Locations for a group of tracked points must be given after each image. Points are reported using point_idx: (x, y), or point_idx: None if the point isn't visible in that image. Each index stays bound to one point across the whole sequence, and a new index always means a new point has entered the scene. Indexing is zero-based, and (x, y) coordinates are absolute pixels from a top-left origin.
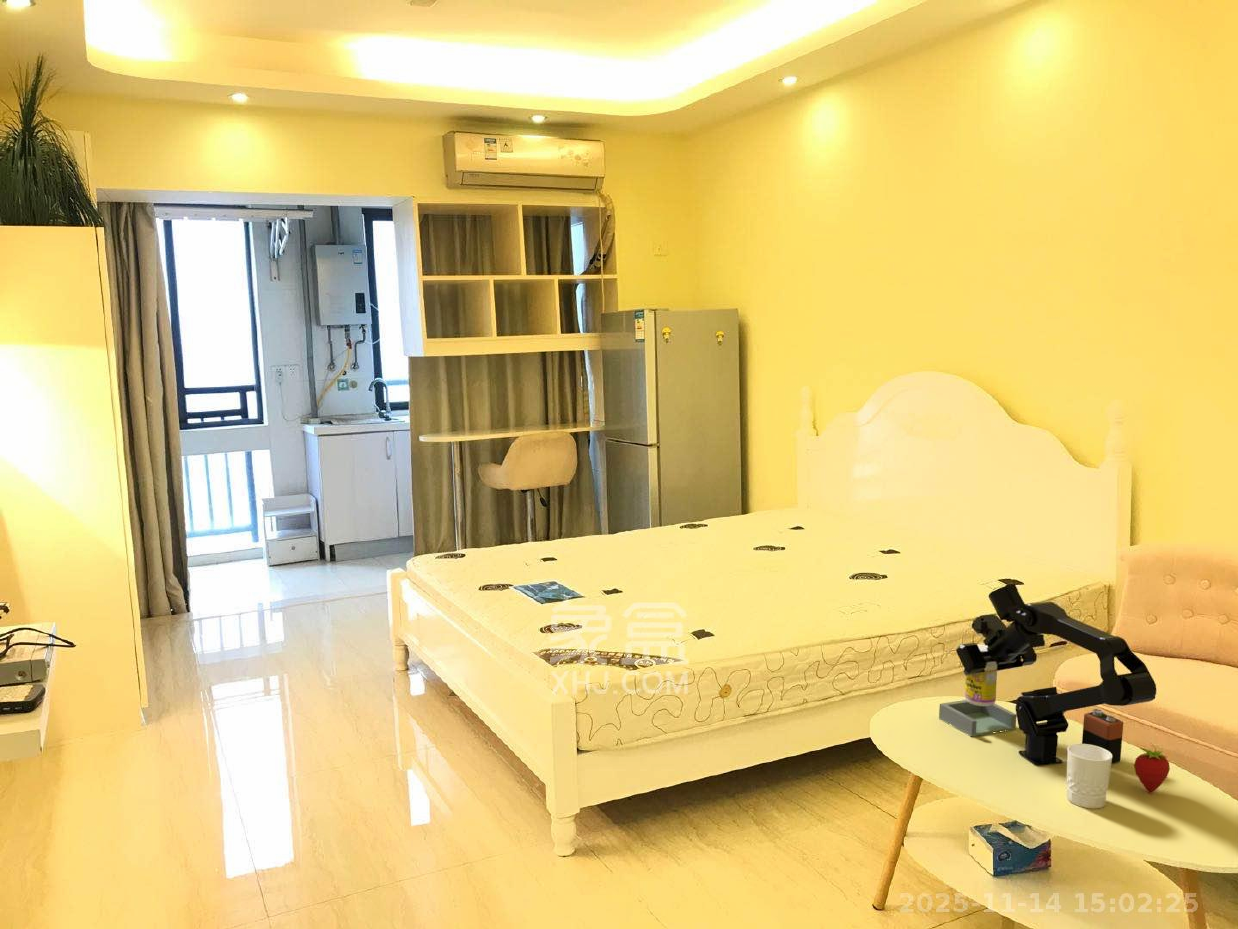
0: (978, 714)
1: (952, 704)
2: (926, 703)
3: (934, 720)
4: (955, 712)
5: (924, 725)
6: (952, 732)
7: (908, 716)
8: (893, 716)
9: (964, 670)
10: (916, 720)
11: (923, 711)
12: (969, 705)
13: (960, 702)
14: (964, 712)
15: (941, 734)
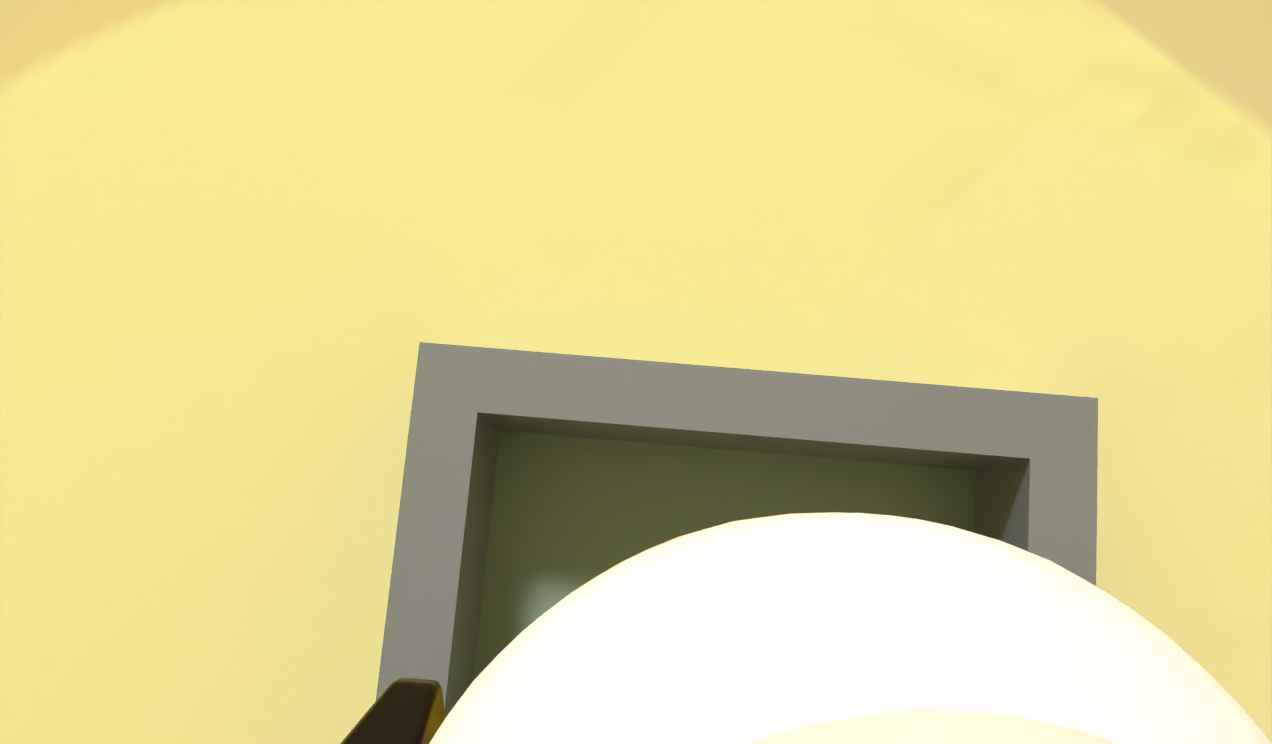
0: (891, 514)
1: (559, 417)
2: (646, 6)
3: (379, 390)
4: (382, 651)
5: (181, 452)
6: (305, 728)
7: (215, 199)
8: (77, 138)
9: (356, 742)
10: (208, 314)
11: (457, 157)
12: (819, 447)
13: (696, 414)
14: (743, 447)
15: (155, 720)
